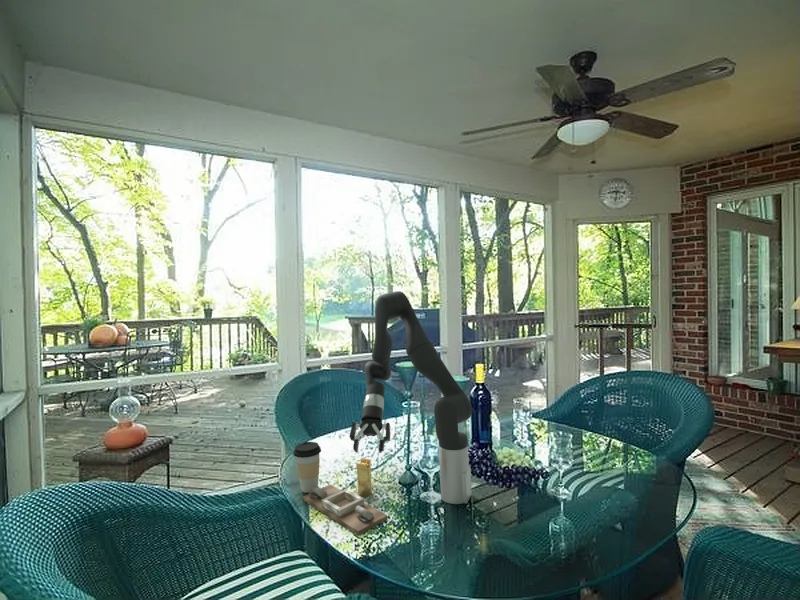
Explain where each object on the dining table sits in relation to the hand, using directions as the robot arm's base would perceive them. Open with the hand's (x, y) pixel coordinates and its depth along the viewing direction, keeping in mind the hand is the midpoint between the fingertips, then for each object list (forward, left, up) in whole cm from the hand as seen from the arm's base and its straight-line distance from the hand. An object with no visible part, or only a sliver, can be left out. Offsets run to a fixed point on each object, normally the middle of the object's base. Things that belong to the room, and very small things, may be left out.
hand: (368, 451), depth 156 cm
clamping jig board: (0, +18, -11) cm, 21 cm away
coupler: (-2, +7, -11) cm, 13 cm away
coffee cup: (+18, +10, -11) cm, 24 cm away
